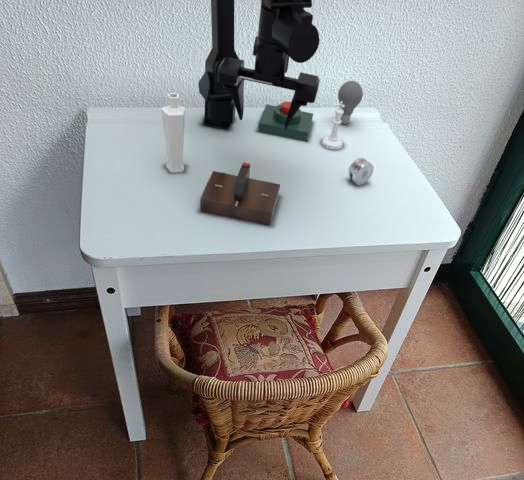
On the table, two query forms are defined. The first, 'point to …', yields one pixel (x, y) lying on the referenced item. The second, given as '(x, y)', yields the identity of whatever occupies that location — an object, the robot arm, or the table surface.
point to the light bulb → (349, 98)
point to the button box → (276, 120)
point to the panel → (250, 208)
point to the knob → (242, 181)
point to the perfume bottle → (174, 133)
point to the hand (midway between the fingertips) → (263, 123)
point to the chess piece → (334, 131)
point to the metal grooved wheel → (360, 171)
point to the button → (285, 107)
